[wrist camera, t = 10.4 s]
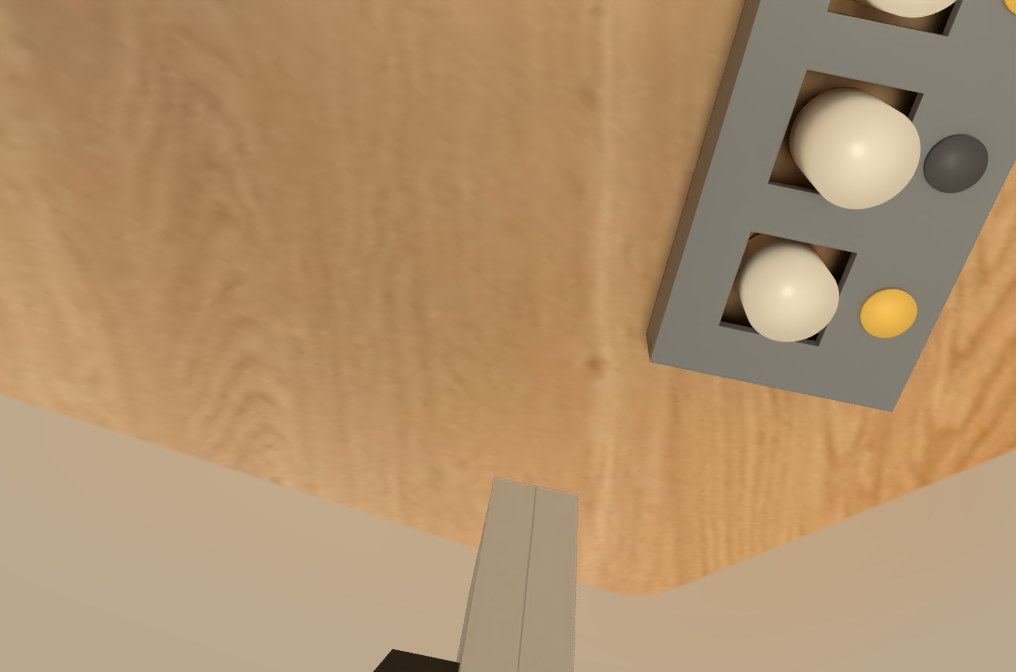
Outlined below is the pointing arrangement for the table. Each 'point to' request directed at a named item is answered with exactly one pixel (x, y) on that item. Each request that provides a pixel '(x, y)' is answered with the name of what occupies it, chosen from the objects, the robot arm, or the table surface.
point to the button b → (854, 147)
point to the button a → (785, 288)
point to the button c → (908, 6)
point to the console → (812, 219)
